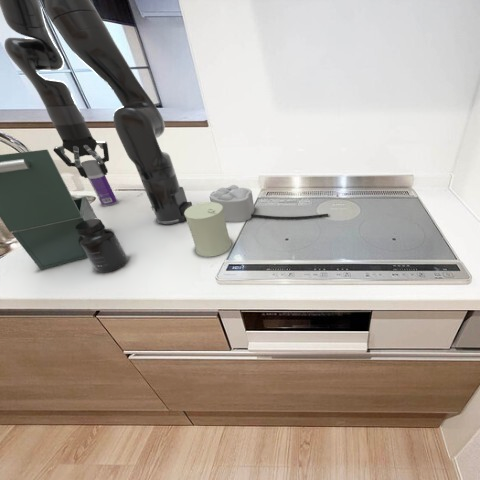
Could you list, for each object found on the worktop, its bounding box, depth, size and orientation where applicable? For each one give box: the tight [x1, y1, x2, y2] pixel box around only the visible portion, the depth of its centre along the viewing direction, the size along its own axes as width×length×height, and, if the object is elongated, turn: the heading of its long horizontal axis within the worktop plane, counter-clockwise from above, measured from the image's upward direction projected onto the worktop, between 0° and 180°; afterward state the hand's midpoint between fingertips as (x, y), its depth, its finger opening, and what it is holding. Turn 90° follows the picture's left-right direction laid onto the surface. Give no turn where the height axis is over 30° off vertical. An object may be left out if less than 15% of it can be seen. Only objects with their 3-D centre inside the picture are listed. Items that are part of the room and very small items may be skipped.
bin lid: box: [0, 149, 82, 233], centre depth 56 cm, size 16×13×5 cm
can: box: [184, 201, 232, 258], centre depth 69 cm, size 9×9×12 cm
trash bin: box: [11, 196, 99, 271], centre depth 69 cm, size 15×13×11 cm
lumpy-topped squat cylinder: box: [208, 184, 256, 223], centre depth 86 cm, size 10×13×9 cm
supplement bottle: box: [75, 218, 128, 273], centre depth 63 cm, size 7×7×12 cm
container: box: [81, 159, 118, 207], centre depth 90 cm, size 5×5×15 cm
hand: (96, 175), depth 88 cm, fingers closed on container, 4 cm apart
